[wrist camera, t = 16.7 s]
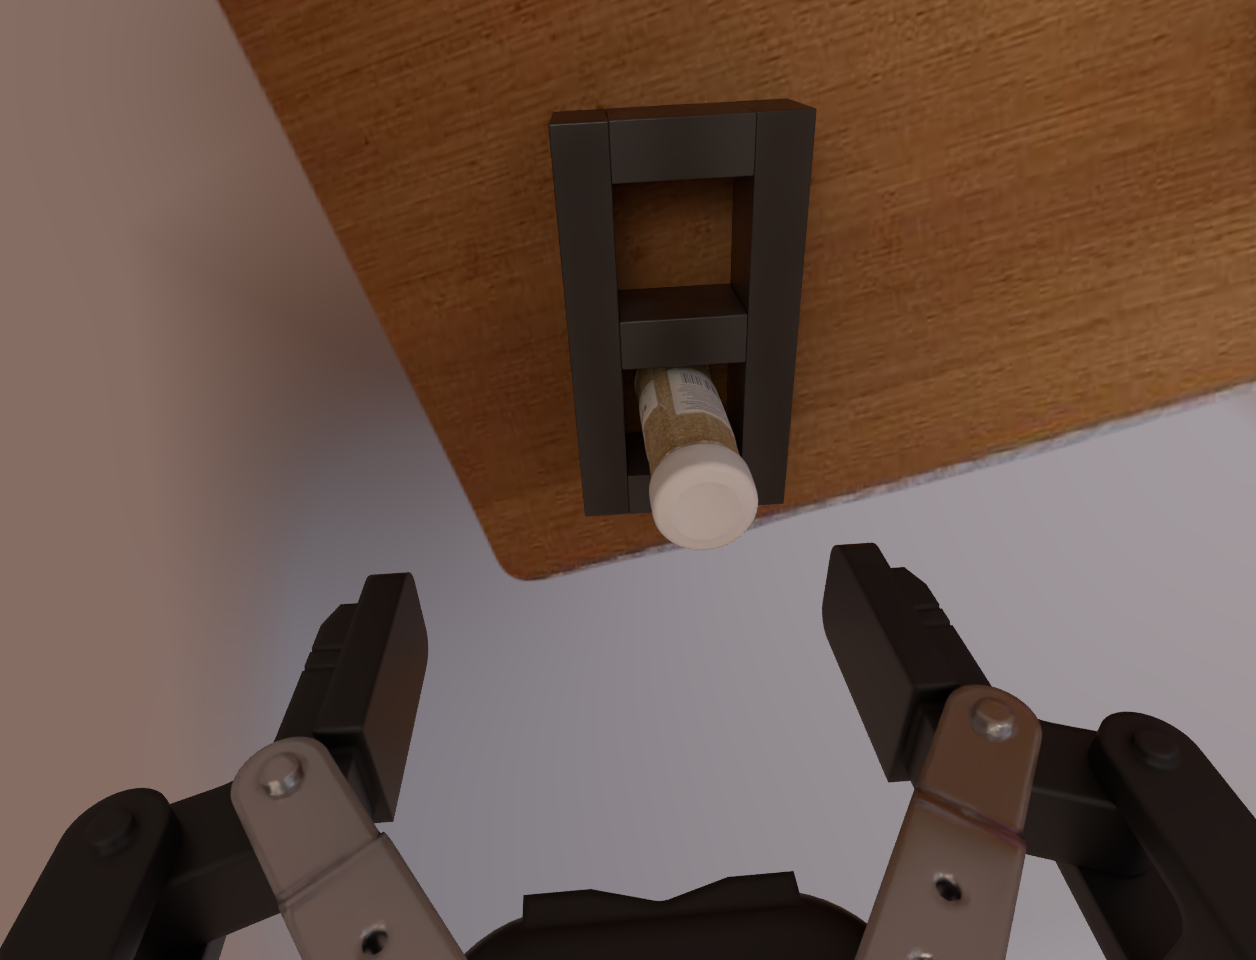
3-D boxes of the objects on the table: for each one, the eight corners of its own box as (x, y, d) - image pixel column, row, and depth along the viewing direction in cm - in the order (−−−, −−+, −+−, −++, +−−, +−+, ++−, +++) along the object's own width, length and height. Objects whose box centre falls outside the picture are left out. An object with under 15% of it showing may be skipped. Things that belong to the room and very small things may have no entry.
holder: (585, 470, 45) (585, 517, 40) (552, 111, 34) (548, 123, 30) (765, 459, 45) (783, 503, 41) (788, 98, 34) (816, 108, 30)
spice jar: (617, 378, 41) (629, 509, 30) (678, 326, 40) (715, 444, 29) (668, 429, 43) (698, 571, 32) (728, 381, 42) (782, 513, 31)
